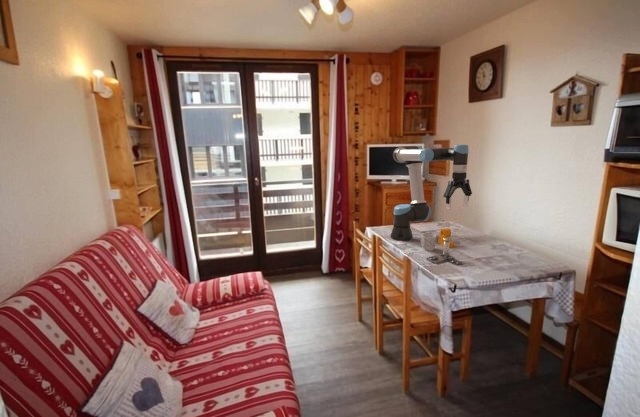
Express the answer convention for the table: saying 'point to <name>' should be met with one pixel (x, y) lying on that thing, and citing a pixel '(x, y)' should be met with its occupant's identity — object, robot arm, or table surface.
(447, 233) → the bracket
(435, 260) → the chain end
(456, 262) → the grey latch plate
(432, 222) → the table surface
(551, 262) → the table surface
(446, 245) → the pin
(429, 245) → the mug
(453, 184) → the robot arm
